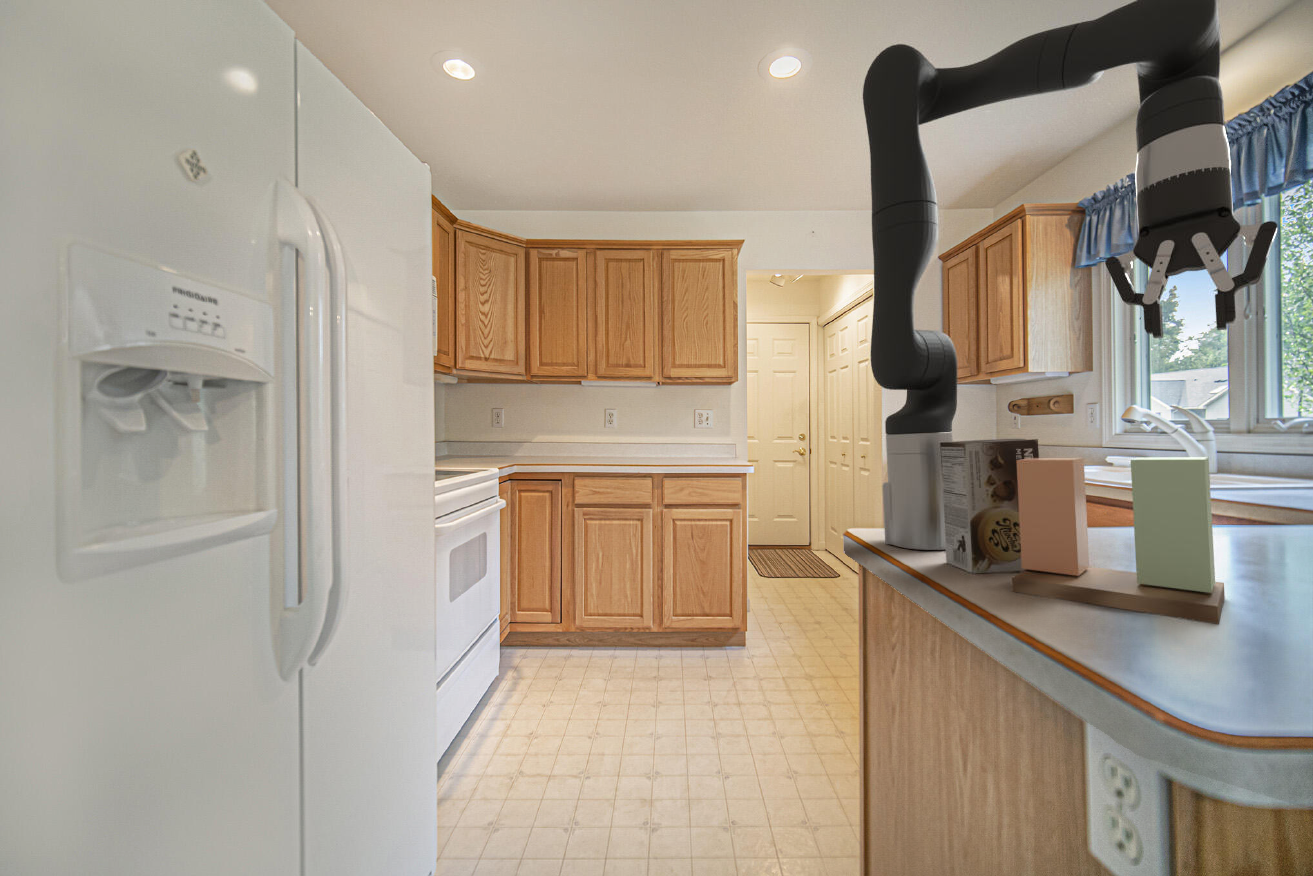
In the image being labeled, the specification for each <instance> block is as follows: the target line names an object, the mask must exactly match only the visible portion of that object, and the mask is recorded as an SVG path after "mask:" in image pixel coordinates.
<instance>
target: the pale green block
mask: <svg viewBox="0 0 1313 876" xmlns="http://www.w3.org/2000/svg"><path fill="white" fill-rule="evenodd" d="M1209 461H1210V458H1209V456H1197V457H1196V456H1195V457H1194V456H1188V457H1187V456H1185V457H1184V456H1181V457H1180V456H1177V457H1176V456H1175V457H1169V456H1168V457H1167V456H1166V457H1165V456H1164V457H1163V456H1162V457H1161V456H1160V457H1159V456H1156V457H1153V456H1152V457H1135V458H1132V459H1130V470H1131V471H1130V473H1131V492H1132V496H1131V497H1132V511H1133V531H1134V533H1133V534H1134V547H1135V550H1134V551H1135V553H1134V554H1135V569H1136V571H1135V572H1136V573H1137V583H1139V584H1146V585H1154V586H1162V587H1170V588H1177V589H1185V590H1193V591H1201V592H1209V593H1212V590H1213V587H1214V584H1215V582H1216V574H1215V573H1216V572H1215V554H1214V536H1213V535H1214V534H1213V533H1214V532H1213V514H1212V498H1211V496H1212V495H1211V494H1212V493H1211V481H1210V480H1211V479H1210V478H1211V477H1210V462H1209Z"/></svg>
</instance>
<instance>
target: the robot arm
mask: <svg viewBox="0 0 1313 876" xmlns="http://www.w3.org/2000/svg"><path fill="white" fill-rule="evenodd" d="M1220 23H1221V22H1220V15H1219V5H1218V0H1134V1H1132V2H1130V3H1128V4H1125V5H1124V6H1121V7H1119V8H1116V9H1113V10H1112V11H1110V12H1107V13H1106V14H1103V15H1102V16H1100V17H1098V18H1095V19H1092V20H1087V21H1081V22H1077V23H1073V24H1069V25H1064V26H1061V27H1055V28H1051V29H1048V30H1044V31H1041V32H1037V33H1034V34H1031V35H1028V36H1026V37H1024V38H1021V39H1019V40H1017V41H1015V42H1012V43H1011V44H1010V45H1007V46H1006V47H1005V48H1002V49H1001V50H1000V51H997V52H996V53H994V54H992V55H991V56H988V57H987V58H985V59H983V60H980V61H978V62H975V63H972V64H971V63H970V64H967V65H963V66H957V67H943V68H941V67H935V66H934V65H933V64H932V63H931V62H930V61H929V59H927V58H926V56H925V55H924V54H923V53H922V52H921V51H920V50H918V49H917V48H915V47H914V46H910V45H907V44H905V43H897V44H892V45H890V46H888V47H886V48H885V49H883V50H882V51H881V52H879V54H878V55H876V56H875V58H874V59H873V61H872V62H871V65H870V66H869V68H868V70H867V73H866V75H865V78H864V81H863V82H864V83H863V87H862V88H863V89H862V103H863V109H864V110H863V111H864V117H865V122H866V130H867V131H866V132H867V137H868V144H869V156H870V157H869V159H870V194H871V236H872V251H873V252H872V253H873V312H872V323H871V324H872V325H871V338H870V366H871V373H872V375H873V378H874V380H875V381H876V383H877V384H878V385H879V386H880V387H881V388H883V389H886V390H893V391H898V390H899V391H906V400H905V404H904V405H903V406H902V407H901V409H899V410H898V411H896V412H895V413H892V414H890V415H888V416H887V417H886V419H885V422H884V423H885V448H886V450H885V451H886V466H887V467H886V468H887V482H884V483H883V484H882V503H883V525H884V544H885V543H886V545H893V546H896V547H898V548H904V549H911V550H912V549H913V550H924V551H925V550H926V551H941V550H946V543H945V525H944V507H943V488H942V470H941V451H940V443H941V442H954V441H953V432H952V431H953V420H954V418H955V415H956V412H957V407H958V357H957V351H956V347H955V344H954V342H953V340H952V339H951V338H950V336H949V335H947V334H946V333H944V332H942V331H938V330H931V329H929V330H928V329H915V318H914V314H915V313H914V307H915V305H914V303H915V295H916V291H917V288H918V284H919V282H920V280H921V278H922V277H923V274H924V272H925V270H926V268H927V267H928V265H929V263H930V261H931V259H932V257H933V255H934V254H935V253H934V252H935V249H936V246H937V244H938V240H939V216H938V215H939V214H938V211H939V209H938V197H937V191H936V186H935V182H934V179H933V175H932V171H931V168H930V165H929V163H928V159H927V157H926V153H925V150H924V147H923V144H922V141H921V134H920V127H919V126H922V125H924V124H926V123H927V124H928V123H930V122H933V121H936V120H939V119H942V118H944V117H949V116H952V115H955V114H959V113H962V112H966V111H969V110H973V109H975V108H979V107H983V106H987V105H991V104H996V103H1000V102H1004V101H1011V100H1015V99H1020V98H1027V97H1033V96H1038V95H1039V96H1040V95H1045V94H1050V93H1051V94H1052V93H1058V92H1063V91H1069V90H1075V89H1080V88H1084V87H1087V86H1089V85H1092V84H1094V83H1095V82H1097V81H1098V80H1099V79H1100V78H1101V77H1102V75H1103V74H1104V72H1105V71H1108V70H1111V69H1115V68H1118V67H1122V66H1125V65H1126V66H1127V65H1132V64H1133V65H1134V67H1135V71H1136V77H1137V78H1136V79H1137V83H1138V84H1137V86H1138V92H1139V93H1138V94H1139V95H1138V96H1139V105H1140V106H1139V107H1138V110H1137V113H1136V119H1135V135H1136V136H1135V137H1136V139H1135V140H1136V165H1135V176H1134V177H1135V193H1136V194H1135V195H1136V196H1135V197H1136V198H1135V199H1136V215H1137V218H1136V219H1137V232H1138V233H1137V234H1138V236H1137V240H1136V243H1135V244H1134V246H1133V249H1132V250H1129V251H1128V252H1125V253H1123V254H1121V255H1118V256H1110V257H1108V258H1107V259H1106V260H1105V262H1104V264H1105V267H1106V268H1107V271H1108V272H1109V273H1108V274H1110V277H1111V279H1112V282H1113V284H1114V286H1115V288H1116V290H1117V292H1118V294H1119V296H1120V299H1121V300H1122V301H1123V303H1125V304H1126V305H1127V306H1139V307H1142V308H1143V322H1144V325H1143V326H1144V330H1145V332H1146V334H1148V335H1152V338H1154V339H1161V338H1164V328H1163V327H1164V326H1163V325H1164V324H1163V323H1164V322H1163V320H1164V319H1163V306H1162V305H1161V303H1160V301H1161V298H1162V295H1163V293H1164V289H1165V288H1166V287H1167V285H1168V281H1169V278H1170V277H1173V276H1177V275H1181V274H1182V273H1183V274H1184V273H1185V272H1199V271H1204V270H1206V271H1207V272H1208V273H1207V274H1208V275H1209V276H1210V278H1211V280H1212V282H1213V284H1214V286H1215V287H1216V290H1217V293H1216V294H1214V303H1215V320H1216V321H1215V322H1216V323H1215V324H1216V330H1217V331H1224V330H1227V329H1228V324H1234V323H1235V321H1236V319H1237V316H1236V301H1235V300H1236V294H1237V292H1238V291H1239V290H1241V289H1244V288H1246V287H1248V286H1253V285H1256V284H1258V283H1259V281H1260V279H1261V278H1262V277H1261V276H1262V274H1263V270H1264V268H1265V266H1266V263H1267V259H1268V257H1269V255H1270V251H1271V249H1272V246H1273V244H1274V240H1275V238H1276V235H1277V233H1278V223H1276V222H1275V221H1271V220H1269V221H1265V222H1263V223H1262V224H1242V225H1241V223H1240V222H1239V221H1238V220H1237V219H1236V218H1235V216H1234V206H1233V203H1234V202H1233V191H1232V190H1233V188H1232V186H1233V185H1232V175H1231V174H1232V172H1231V171H1232V165H1233V164H1232V163H1233V162H1232V160H1231V155H1230V154H1231V153H1230V152H1231V150H1230V144H1229V141H1228V137H1227V134H1226V133H1227V132H1226V126H1225V125H1226V124H1225V105H1224V104H1225V103H1224V96H1223V90H1222V85H1221V83H1220V74H1221V73H1220V71H1221V70H1220V69H1221V24H1220ZM1238 237H1242V238H1243V239H1244V244H1245V246H1246V247H1247V248H1248V247H1249V248H1251V250H1250V253H1249V255H1248V259H1247V261H1246V264H1245V267H1244V270H1243V272H1242V273H1240V274H1238V275H1235V276H1232V277H1231V275H1230V273H1229V271H1228V270H1227V268H1226V265H1225V264H1224V263H1223V261H1222V259H1221V258H1222V256H1223V255H1224V253H1226V251H1228V249H1229V247H1231V245H1232V244H1233V243H1234V242H1235V240H1237V238H1238ZM1136 259H1138V260H1139V261H1141V262H1142V263H1144V264H1145V266H1147V267H1148V268H1150V269H1151V271H1150V273H1149V277H1148V280H1147V285H1146V288H1145V291H1144V293H1141V292H1140V293H1139V292H1136V290H1135V287H1134V286H1133V284H1132V281H1131V280H1130V277H1129V276H1128V273H1129V272H1131V271H1132V270H1133V268H1134V267H1133V262H1134V261H1135V260H1136Z"/></svg>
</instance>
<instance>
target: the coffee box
mask: <svg viewBox="0 0 1313 876" xmlns="http://www.w3.org/2000/svg"><path fill="white" fill-rule="evenodd" d="M940 451H941V470H942V488H943V507H944V525H945V543H946V549H945V560H946V561H945V562H946V563H947V564H949V565H951V566H954V567H957V568H958V569H961V570H963V571H966V572H969V573H971V574H988V573H992V574H993V573H1006V572H1007V573H1011V572H1012V573H1013V572H1021V571H1023V570H1025V569H1022V562H1021V541H1020V521H1019V500H1018V480H1017V460H1021V459H1028V458H1040V454H1039V439H1038V438H1037V439H1035V438H1034V439H1033V438H1031V439H1026V438H995V439H993V438H992V439H989V438H988V439H975V440H974V439H973V440H971V439H970V440H960V441H959V440H958V441H953V442H941V443H940Z"/></svg>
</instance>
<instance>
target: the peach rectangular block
mask: <svg viewBox="0 0 1313 876" xmlns="http://www.w3.org/2000/svg"><path fill="white" fill-rule="evenodd" d="M1017 480H1018V500H1019V521H1020V541H1021V562H1022V569H1030V570H1038V571H1045V572H1053V573H1061V574H1069V575H1076V576H1079V575H1080V574H1081V573H1083V572H1084V571H1085V570H1086V569H1088V568H1089V567H1090V557H1089V536H1088V535H1089V534H1088V533H1089V531H1088V514H1087V498H1086V494H1087V493H1086V477H1085V459H1084V457H1039V458H1028V459H1021V460H1017Z"/></svg>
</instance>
